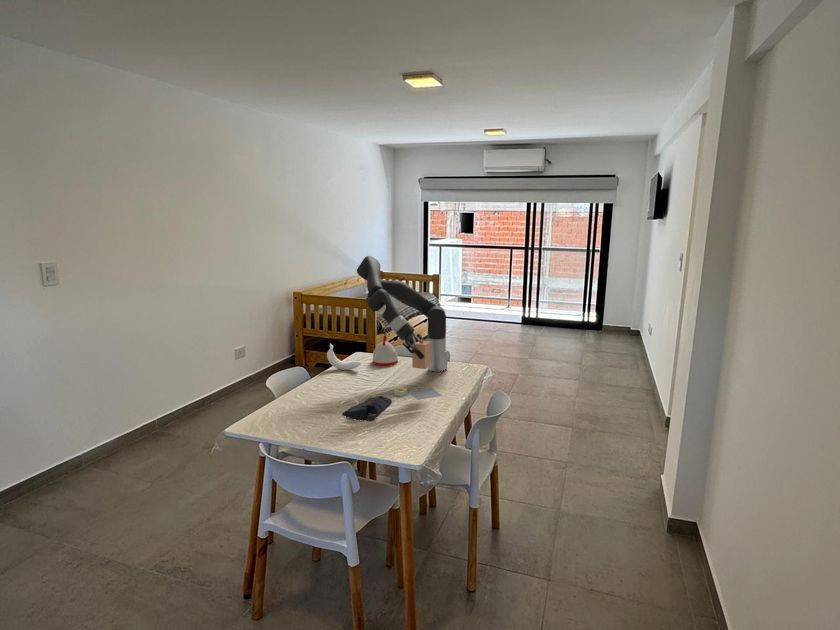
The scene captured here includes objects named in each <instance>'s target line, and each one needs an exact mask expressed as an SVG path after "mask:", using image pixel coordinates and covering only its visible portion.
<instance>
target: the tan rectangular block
mask: <svg viewBox="0 0 840 630" xmlns="http://www.w3.org/2000/svg"><path fill="white" fill-rule="evenodd" d="M413 345H414V343H412V346H413ZM416 347H417V348H418V350H419V351H420V352H421V353H422V354H423V355H424V358H422V359H420V358H419V357H418V356H417V355H416V354H415V353H411V357H412V362H411V363H412V368H413V369H421V370H426V369H428V367H429V366H431V342H430V341H428V340H425V341H423V340H422V339H421V340H420V341H418V342H416ZM414 348H415V347H414Z"/></svg>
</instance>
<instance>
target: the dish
mask: <svg viewBox="0 0 840 630" xmlns="http://www.w3.org/2000/svg"><path fill="white" fill-rule="evenodd" d="M398 388H399V387H397V388H395V389H393V396H397V397H398V396H400V397H403V396H405V395H406V394H407V393H408V392H407V391H408V388H404V387H402V388H403V389H404V390H403V391H397V389H398Z"/></svg>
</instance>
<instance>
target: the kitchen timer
mask: <svg viewBox="0 0 840 630" xmlns="http://www.w3.org/2000/svg"><path fill="white" fill-rule="evenodd" d="M387 339H388V337H387V335H385V334H384V335H383V339H382V342H380V343H379V344H377V346H376V347H375V349H374V350H373V353H372V365H375V366H378V367H391V366H394V364H395V365H397V364H398V363H399V357H398V351H397V349H396V348H395V347H394V346H393V344H391V343H390V342H389V341H388V340H387ZM390 365H391V366H390Z"/></svg>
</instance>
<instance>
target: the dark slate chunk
mask: <svg viewBox="0 0 840 630" xmlns="http://www.w3.org/2000/svg"><path fill="white" fill-rule="evenodd" d="M392 401H393V400H392V399H391V398H389V397H385V396H383V395H379V396H373V397H369V398H367V399H366V400H365V401H362V402H360V403H358V404H356V405H353V406H351V407H350V408H348V409H346V410H345V411H344V412H342V413H341V414H342V416H346V417H345V418H347V417H350V418H349V419H351V418H352V419H351V420H354V419H356V420H355V421H360V420H361V422H362V421H363V422H364V421H366V422H374V421H375V419H376V418H378V417H379V416H380V415H381V414H382V413H383V412H384V410H386V409H387V408H388V407H389V405H390V404H391V403H392Z"/></svg>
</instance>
